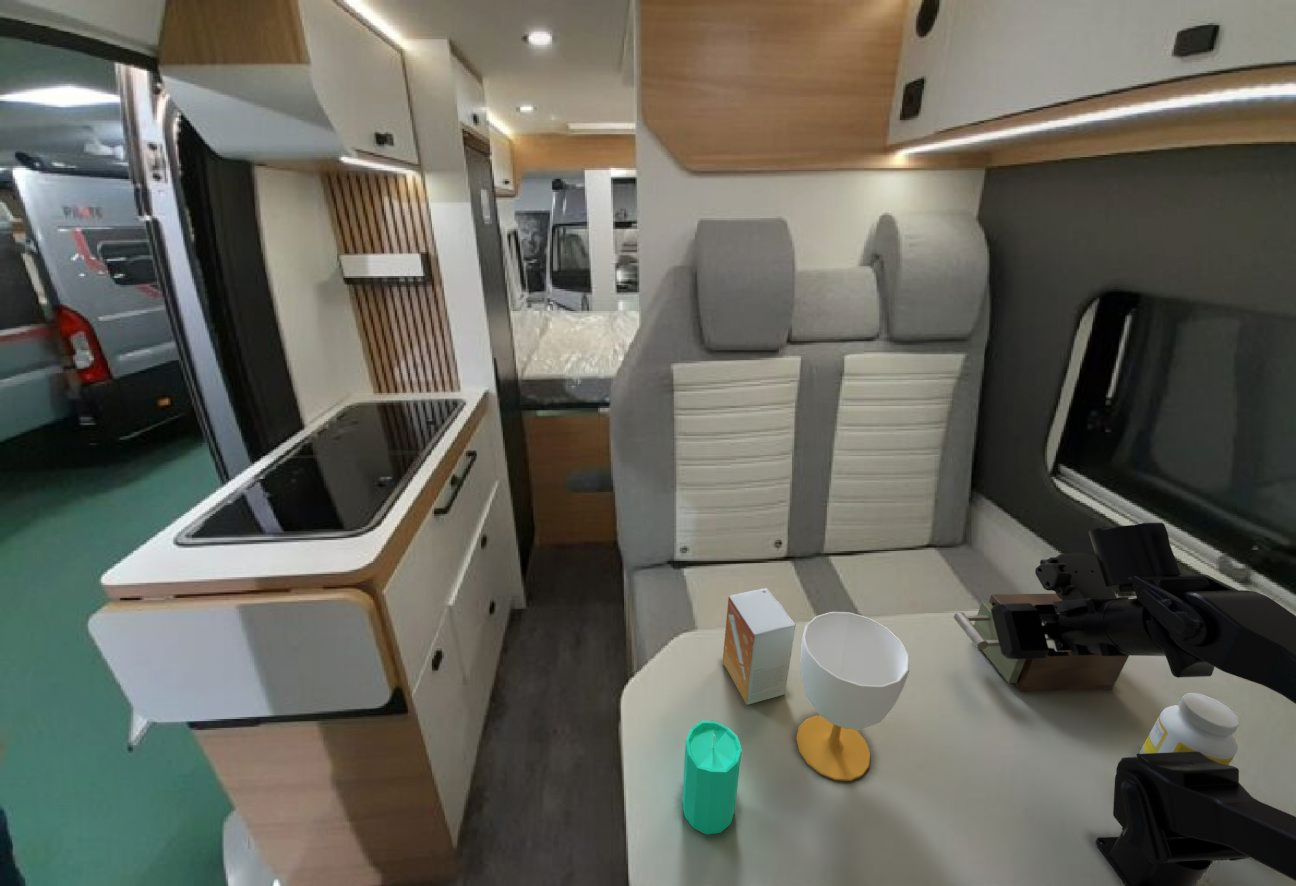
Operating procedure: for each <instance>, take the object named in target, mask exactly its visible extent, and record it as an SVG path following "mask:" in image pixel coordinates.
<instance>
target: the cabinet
mask: <svg viewBox="0 0 1296 886" xmlns="http://www.w3.org/2000/svg"><path fill="white" fill-rule="evenodd" d="M1055 601H1062V599H1060V598H1059V597H1058V596H1057V594H1056V593H1000V594H999V593H996V594H993V593H992V594H991V595H990V598H989V600H988V602H990V603H991V604H992V606H994V605H998V604H1016V603H1031V604H1032V605H1033V606H1034V605H1041V604H1053V602H1055ZM1057 614H1060V613H1057ZM1068 654H1069V656H1046V658H1039V659H1028V661H1027V664H1026V666H1025V669H1024V671H1023V674H1022V676H1021V675H1019V678H1018V680H1017V683H1014V685H1015V686H1016V687H1017V688H1018V689H1019V691H1021V692H1031V691H1032V692H1034V691H1036V692H1037V691H1041V692H1042V691H1083V690H1084V691H1086V690H1087V691H1088V690H1089V691H1091V690H1113V689H1114V687H1115V686H1116V685H1115V684H1116V683H1117V681H1118V679H1119V677H1120V675H1121V673H1122V671H1123V669H1124V667H1125V665H1126V663H1127V661H1128V659H1129V657H1130V656H1102V655H1079V656H1078V655H1072V653H1071V652H1070V651H1068Z"/></svg>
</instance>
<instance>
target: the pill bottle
mask: <svg viewBox="0 0 1296 886" xmlns="http://www.w3.org/2000/svg"><path fill="white" fill-rule="evenodd" d="M1239 726H1240V719H1239V717H1238V715H1237V714H1236V713H1235V712H1234V711H1233V710H1232V709H1230V707H1228V706H1227V705H1226V704H1223V703H1222V702H1220V701H1219V700H1217V699H1215V698H1213V697H1211V696H1207V695H1205V694H1202V693H1198V692H1187V693H1185V694H1184V695H1182V697H1181V699H1180V700H1179V702H1178V705H1175V704H1174V705H1170V706H1167V707H1165V708H1164V709H1163V710H1162V711H1161V713H1160V714H1159V715H1158V717H1157V719H1156V721H1155V723H1154V724H1153V727H1152V728H1151V730H1150V732H1149V734H1148V735H1147V738H1146V740H1145V742H1144V743H1143V744H1142V747H1141V748H1140V751H1139V753H1138V754H1145V753H1169V752H1194V751H1199V752H1200V753H1202V754H1203V755H1205V756H1206V757H1207V758H1209V759H1211V760H1213V761H1215V762H1218V763H1221V764H1225V765H1230V764H1231V762H1232V761H1233V759H1234V758H1235V756H1236V754H1237V752H1238V743H1237V740H1236V737H1234V734H1235V733H1236V731H1237V729H1238V728H1239Z"/></svg>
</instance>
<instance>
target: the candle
mask: <svg viewBox="0 0 1296 886" xmlns="http://www.w3.org/2000/svg"><path fill="white" fill-rule="evenodd" d="M684 746H685V747H684V764H683V781H682V782H683V783H682V799H681V803H682V809H683V816H684V818H685V819H686V821H687V822H688V823H689V825H690V826H691V827H692V828H693V829H694V830H696V831H699V832H700V833H702V834H704V835H715V834H721V833H722V832H724V830H726V829H727V828H728V827H729V826H731V825H732V821H733V817H734V814H735V811H736V803H737V793H738V785H739V779H740V778H739V777H740V776H739V775H740V768H741V759H742V752H743V749H742V746H741V742H740V738H739V736H738V735H737V734H736V733H735V732H734V731H733V730H732V729H731V728H729V726H727V725H724V724H722V723H720V722H717V721H716V720H700V721H699V722H697V723H696V724H695V725H694V726H693V727H691V728H690V729H689V732H688V734H687V736H686V738H685V745H684Z"/></svg>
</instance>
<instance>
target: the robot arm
mask: <svg viewBox="0 0 1296 886" xmlns="http://www.w3.org/2000/svg"><path fill="white" fill-rule="evenodd" d="M1088 535H1089V538H1090V541H1091V544H1092V549H1093V551H1094V554H1095V557H1096V558H1095V557H1094V556H1093V555H1090V554H1088V553H1060V554H1058V555H1056V556H1051V557H1049V558H1047V559H1046V558H1045V559H1040V561H1039V565H1038V566H1037V567H1035V570H1034V571H1035V573H1034V574H1035V576H1036V578H1037V579H1038V581H1039V583H1040V584H1041V586H1042V588H1043V589H1044V590H1045V591H1053V592H1054V593H1055V594H1057V596H1058V597H1059V598H1060V599H1062V601H1055V602H1053V604H1041V605H1034V606H1033V605H1032V604H1031V603H1016V604H998V605H994V606H993V607H992V609H991V613H992V617H993V621H994V625H995V629H996V633H997V637H998V641H999V645H1000V650H1001V654H1002V655H1003V656H1005V657H1006V658H1007V659H1039V658H1046V656H1069V654H1068V651H1070V652H1071V653H1072V655H1078V656H1079V655H1102V656H1129V657H1130V656H1134V657H1135V656H1138V657H1139V656H1141V657H1165V658H1166V661H1167V663H1168V667H1169V670H1170V672H1171V674H1172V676H1173V677H1174V678H1201V677H1202V678H1205V677H1206V678H1207V677H1208V678H1209V677H1211V676H1213V673H1214V671H1215V670H1214V669H1217V670H1219V671H1221V672H1224V673H1226V674H1229V675H1231V676H1234V677H1238V678H1240V679H1243V680H1246V681H1249V682H1252V683H1255V684H1258V685H1261V686H1263V687H1265V688H1267V689H1270V690H1271V691H1273V692H1275V693H1277V694H1280V695H1281V696H1283V697H1285V698H1286V699H1287V700H1289V701H1291V703H1294V705H1296V615H1295V614H1294V613H1292V612H1291V611H1290V610H1288V609H1287V608H1285V607H1284V606H1282V605H1281V604H1280V603H1278V602H1277V601H1275V600H1274V599H1272V598H1270V597H1269V596H1267V595H1265V594H1262V593H1260V592H1257V591H1253V590H1249V589H1248V590H1244V589H1242V590H1239V589H1237V588H1235V587H1233V586H1231V585H1229V584H1227V583H1224V582H1223V581H1220V580H1219V579H1217V578H1214V577H1213V576H1211V575H1209V574H1194V575H1193V574H1185V575H1182V573H1181V570H1180V568H1179V565H1178V563H1177V559H1176V557H1175V555H1174V552H1173V549H1172V546H1171V544H1170V537H1169V533H1168V530H1167V528H1166V525H1165V523H1163V522H1161V521H1159V522H1142V523H1138V524H1129V525H1127V524H1126V525H1120V526H1102V527H1097V528H1092V529H1090V530H1088ZM1113 587H1118V590H1119V592H1120V593H1135V596H1136V597H1134V598H1129V597H1128V596H1124V597H1123V596H1121V597H1119V596H1118V597H1117V595H1116V593H1115V592H1114V589H1113ZM1057 613H1060V614H1057ZM1115 770H1116V772H1115V776H1114V789H1113V806H1112V808H1113V809H1112V810H1113V811H1112V816H1113V818H1114V819H1115V820H1116V821H1117V823H1118V824H1119V825H1120V826H1121V830H1122V831H1121V832H1120V834H1119V836H1105V837H1102V836H1101V837H1096V839H1095V841H1094V842H1095V844H1096V846H1097V847H1098V849H1099V851H1101V853H1102V855H1103V856H1104V857H1105V858H1106V860H1107V861H1108V862H1109V864H1110V865H1111V867H1112V868H1113V869H1114V871H1115V872H1116V873H1117V876H1119V878H1120V879H1121V880H1122V881H1123V883H1124V885H1125V886H1196V884H1197V883H1198V882H1199V881H1200V879H1201V878H1202V877H1203V876H1204V875H1205V873H1206V871H1207V870H1208V869H1209V867H1211V865H1212V864H1213V862H1214V861H1230V862H1234V861H1235V862H1237V861H1241V860H1246V859H1252V860H1254V861H1257V862H1258V863H1260V864H1262V865H1264V866H1266V867H1268V868H1269V869H1272V870H1273V871H1276V872H1277V873H1279V874H1281V875H1283V876H1285V877H1287V878H1289V879H1291V880H1293V881H1295V882H1296V816H1295V815H1293V814H1291V813H1288V812H1286V811H1283V810H1281V809H1278V808H1277V807H1274V806H1272V805H1269V804H1267V803H1264V802H1262V801H1260V800H1258V799H1256V798H1254V797H1253V796H1252V795H1251V794H1250V793H1249V791H1248V790H1246V788H1245V787H1244V786H1243V785H1242V784H1241V783H1240V770H1239V768H1238V767H1236V766H1233V765H1230V764H1229V765H1225V764H1221V763H1218V762H1215V761H1213V760H1211V759H1209V758H1207V757H1206V756H1205V755H1203V754H1202V753H1200V752H1199V751H1194V752H1169V753H1145V754H1139V753H1136V756H1130V757H1122V758H1121V760H1119V761H1118V763H1117V766H1116V769H1115Z"/></svg>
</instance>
